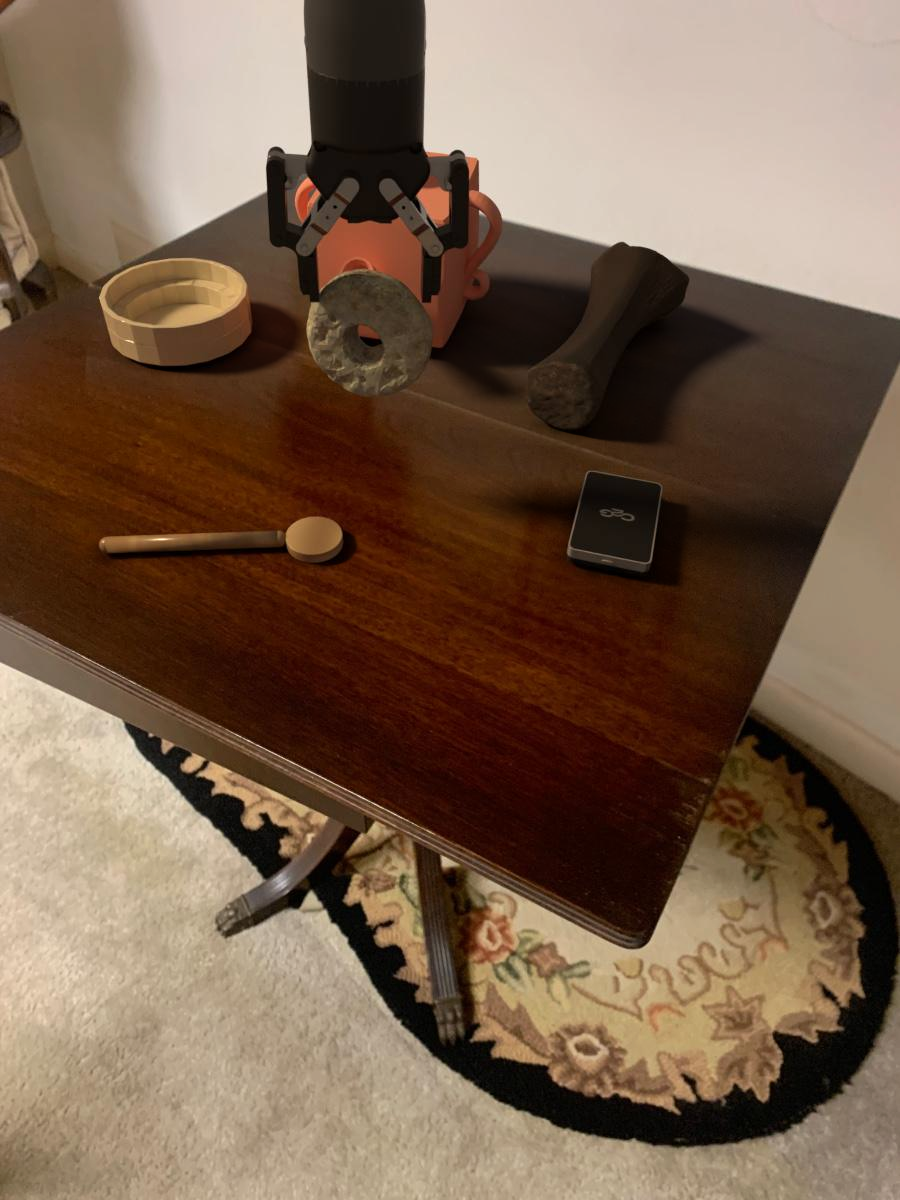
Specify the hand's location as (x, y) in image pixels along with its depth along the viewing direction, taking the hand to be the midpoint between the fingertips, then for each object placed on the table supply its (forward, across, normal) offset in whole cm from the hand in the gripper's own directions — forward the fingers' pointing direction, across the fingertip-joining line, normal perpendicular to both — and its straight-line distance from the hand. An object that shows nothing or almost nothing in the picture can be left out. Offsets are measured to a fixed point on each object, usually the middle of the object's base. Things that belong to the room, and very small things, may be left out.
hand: (371, 298), depth 68 cm
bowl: (+19, -20, +28) cm, 39 cm away
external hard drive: (+18, +21, -7) cm, 29 cm away
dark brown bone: (+18, +26, +20) cm, 37 cm away
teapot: (+18, +3, +28) cm, 33 cm away
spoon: (+19, -13, -7) cm, 24 cm away
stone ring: (+8, 0, 0) cm, 8 cm away
